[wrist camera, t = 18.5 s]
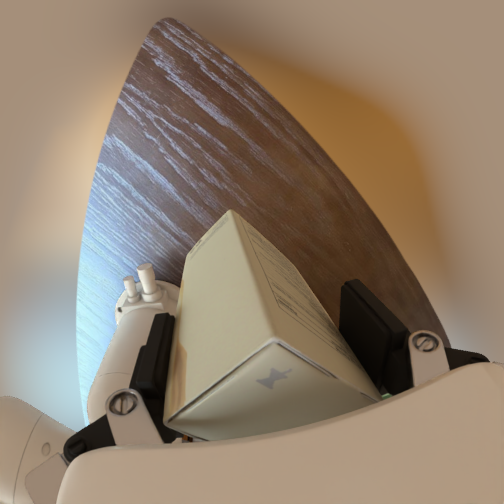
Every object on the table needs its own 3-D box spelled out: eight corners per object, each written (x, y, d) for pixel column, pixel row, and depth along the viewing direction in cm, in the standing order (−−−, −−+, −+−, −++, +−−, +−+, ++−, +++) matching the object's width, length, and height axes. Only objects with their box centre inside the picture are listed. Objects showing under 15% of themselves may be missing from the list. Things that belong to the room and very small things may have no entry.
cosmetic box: (184, 255, 17) (145, 421, 6) (231, 205, 16) (266, 326, 5) (255, 312, 19) (298, 471, 8) (300, 270, 18) (394, 412, 7)
